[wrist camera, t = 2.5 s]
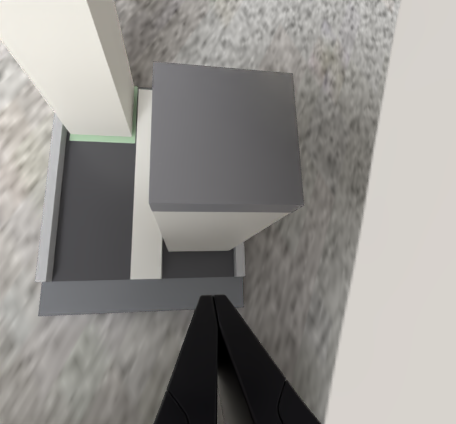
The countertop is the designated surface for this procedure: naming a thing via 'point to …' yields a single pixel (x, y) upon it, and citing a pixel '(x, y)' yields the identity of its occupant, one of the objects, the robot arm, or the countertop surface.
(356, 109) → the countertop surface
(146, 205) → the switch board
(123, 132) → the tab
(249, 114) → the tab
